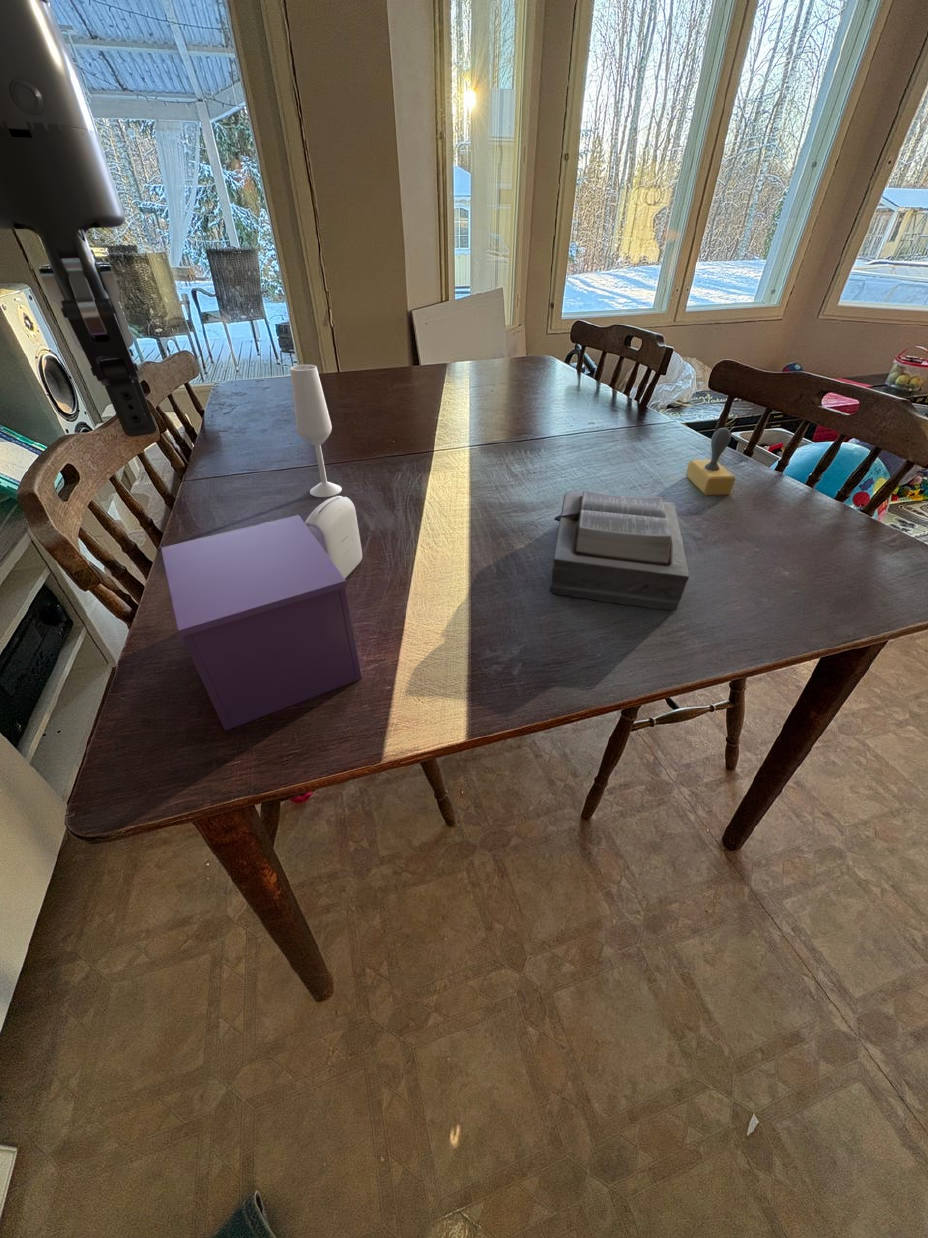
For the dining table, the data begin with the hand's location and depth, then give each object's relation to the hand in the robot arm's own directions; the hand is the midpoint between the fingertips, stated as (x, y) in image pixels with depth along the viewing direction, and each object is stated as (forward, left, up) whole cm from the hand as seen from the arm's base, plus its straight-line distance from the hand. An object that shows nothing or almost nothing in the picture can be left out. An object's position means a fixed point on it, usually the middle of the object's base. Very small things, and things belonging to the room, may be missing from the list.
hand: (141, 432), depth 39 cm
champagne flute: (+27, +56, -33) cm, 70 cm away
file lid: (+5, +8, -18) cm, 21 cm away
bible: (+60, +4, -33) cm, 69 cm away
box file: (+5, +8, -33) cm, 34 cm away
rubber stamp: (+99, +17, -33) cm, 106 cm away
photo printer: (+19, +24, -33) cm, 45 cm away
